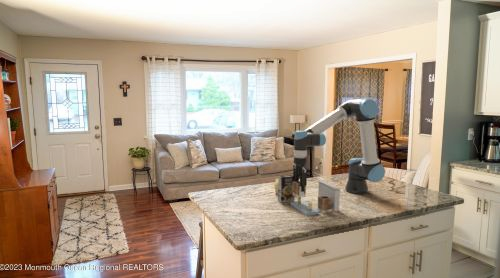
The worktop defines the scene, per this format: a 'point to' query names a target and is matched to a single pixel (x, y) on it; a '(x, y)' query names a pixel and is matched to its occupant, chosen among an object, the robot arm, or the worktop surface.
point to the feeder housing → (330, 193)
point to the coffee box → (285, 188)
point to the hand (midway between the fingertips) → (299, 195)
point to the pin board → (304, 207)
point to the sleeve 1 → (297, 189)
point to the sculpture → (276, 185)
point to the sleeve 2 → (324, 204)
